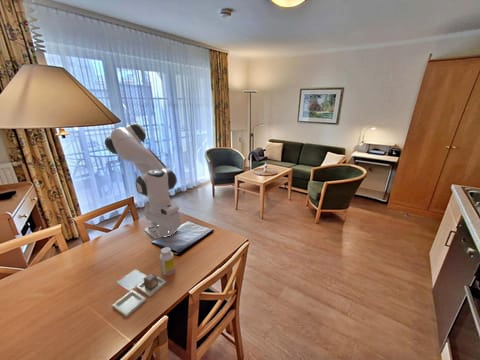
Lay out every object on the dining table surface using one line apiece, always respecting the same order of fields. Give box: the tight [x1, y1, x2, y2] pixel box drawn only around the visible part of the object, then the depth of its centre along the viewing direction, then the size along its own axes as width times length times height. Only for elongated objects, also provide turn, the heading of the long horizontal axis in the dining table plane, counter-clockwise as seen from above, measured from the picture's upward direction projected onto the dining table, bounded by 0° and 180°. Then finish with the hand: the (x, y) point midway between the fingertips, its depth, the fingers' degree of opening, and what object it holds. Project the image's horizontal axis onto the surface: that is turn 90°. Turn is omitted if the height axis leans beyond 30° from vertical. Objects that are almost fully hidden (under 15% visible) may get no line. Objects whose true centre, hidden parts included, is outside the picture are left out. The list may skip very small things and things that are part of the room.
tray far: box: [112, 289, 147, 318], centre depth 90 cm, size 9×9×2 cm
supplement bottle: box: [159, 246, 176, 276], centre depth 106 cm, size 7×7×13 cm
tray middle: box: [135, 275, 167, 298], centre depth 99 cm, size 9×9×2 cm
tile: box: [115, 268, 147, 292], centre depth 102 cm, size 10×10×1 cm
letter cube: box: [144, 272, 158, 290], centre depth 98 cm, size 4×4×5 cm
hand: (163, 231), depth 101 cm, fingers open, 8 cm apart
